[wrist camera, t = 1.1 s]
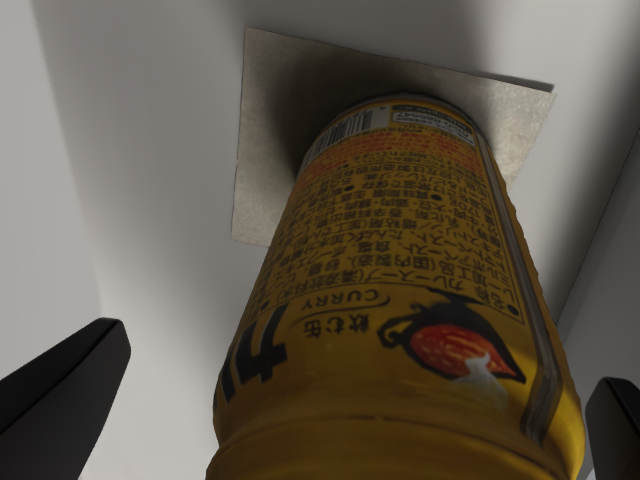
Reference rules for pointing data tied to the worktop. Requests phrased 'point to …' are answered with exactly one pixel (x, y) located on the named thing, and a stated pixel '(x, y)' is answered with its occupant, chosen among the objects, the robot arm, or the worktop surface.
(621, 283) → the bin
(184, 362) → the worktop surface
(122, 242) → the worktop surface
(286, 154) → the condiment
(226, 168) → the worktop surface
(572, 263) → the worktop surface
